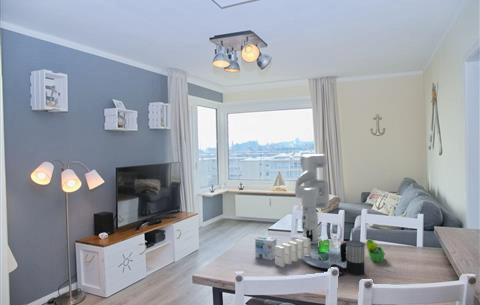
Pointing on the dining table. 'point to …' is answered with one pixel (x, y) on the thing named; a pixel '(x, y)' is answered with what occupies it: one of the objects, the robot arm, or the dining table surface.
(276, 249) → the domino
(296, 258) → the domino
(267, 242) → the light bulb box
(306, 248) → the domino
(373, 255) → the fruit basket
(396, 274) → the dining table surface
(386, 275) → the dining table surface
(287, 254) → the domino
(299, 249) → the domino
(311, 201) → the robot arm
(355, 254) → the milk frother
